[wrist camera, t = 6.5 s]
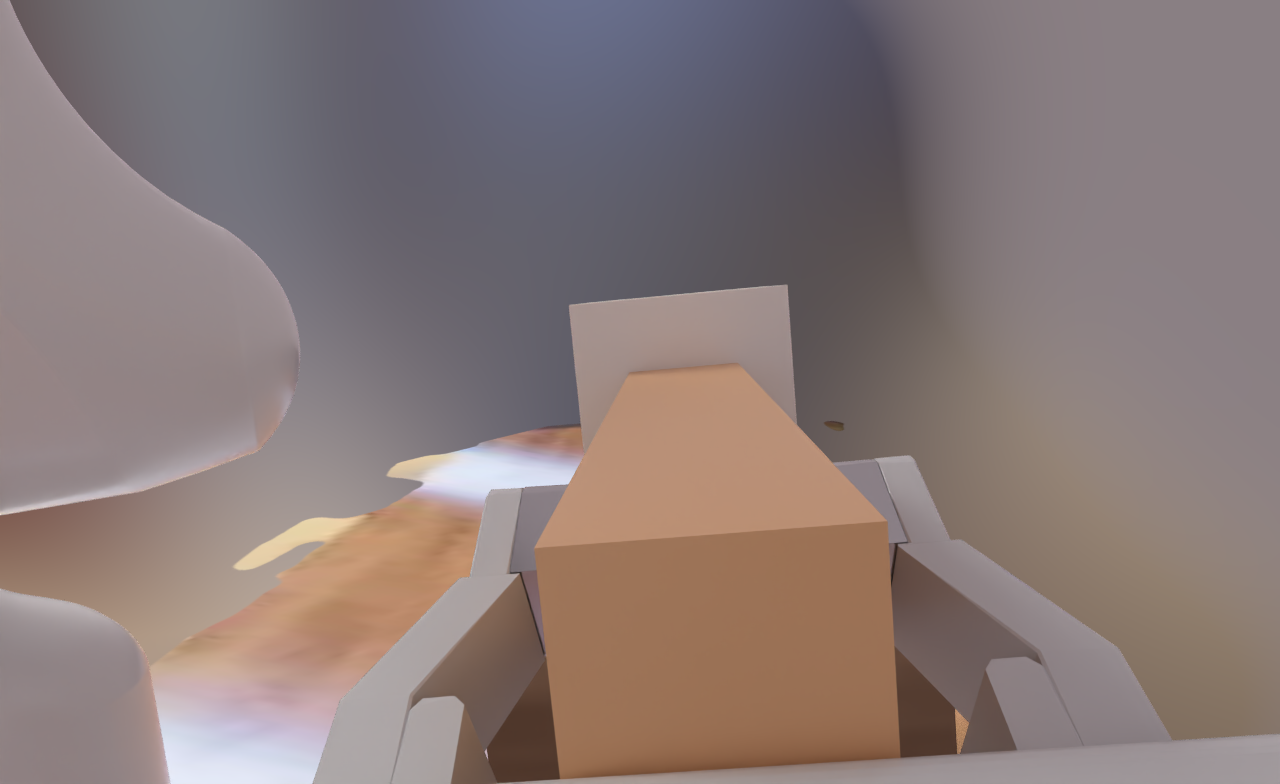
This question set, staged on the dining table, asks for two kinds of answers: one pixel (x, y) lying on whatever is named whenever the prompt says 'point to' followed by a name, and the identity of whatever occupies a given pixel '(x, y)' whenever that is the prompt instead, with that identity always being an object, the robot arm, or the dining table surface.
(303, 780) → the dining table surface
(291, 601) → the dining table surface
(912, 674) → the tall wood-grain pillar
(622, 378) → the wooden handled mallet
